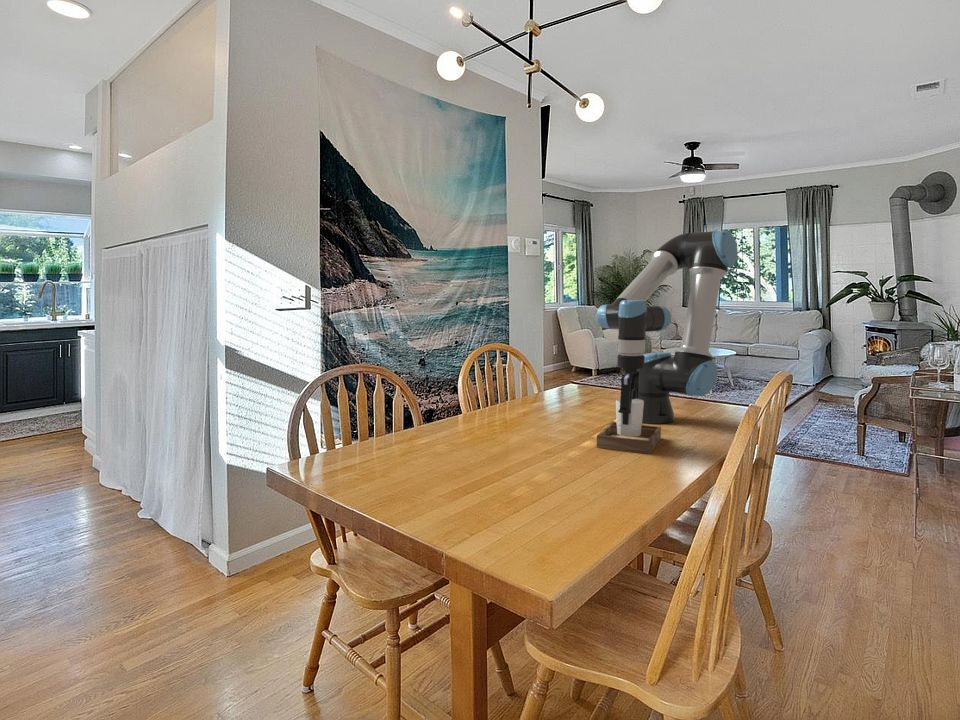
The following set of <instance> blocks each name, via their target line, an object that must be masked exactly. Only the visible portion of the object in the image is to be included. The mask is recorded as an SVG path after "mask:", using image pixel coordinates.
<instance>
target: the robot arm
mask: <svg viewBox="0 0 960 720" xmlns="http://www.w3.org/2000/svg"><path fill="white" fill-rule="evenodd" d="M650 260H651V261H650V262H649V263H647V265H646V266H645V267H644V268H643V270H641V271H640V273H639V274H638V275H637V276H636V277H635V278H634V279H633V280H632V281H631V282H630V283H629V285H627V287H626V288H625V289H624V290H623V291H622V292H621V293H620V294H619V295H618V296H617V298H616V299H615V300H614V301H613V302H612V303H611V304H609V303H607V304H602V305H600V306H599V308H598V309H597V311H596V315H595V317H596V323H597V325H598V326H599V327H600V328H603V329H609V330H618V336H617V337H618V338H617V339H618V340H617V341H616V342H615V344H616V346H617V352H618V353H619V354H617V362H616V363H617V365H616V366H617V367H618V368H619V369H624V372H623V374H622V376H621V377H620V385H621V386H620V410H618V412H619V413H621V435H626V436H631V414H632V413H630V412H631V403H632V399H641V400H643V401H644V407H643V419H642V424H643V423H644V424H660V425H661V424H668V423H672V422H674V419H675V412H674V409H673V406H672V403H671V398H670V393H673V394H674V393H675V394H680V395H687V396H690V397H693V396H695V397H704V396H706V395H707V394H709V393H710V392H711V391H712V390H713V389H714V386H715V385H716V382H717V378H718V375H719V374H718V372H719V370H718V366H717V364H716V362H714V360H713V354H712V353H711V352H710V351H709V349H710V345H711V338H712V333H713V328H714V327H713V325H714V321H715V315H716V309H717V303H718V297H719V292H720V286H721V281H722V278H724V277H725V276H726V275H727V274H728V269H729V268H732V267H734V266H735V264H736V263H737V261H738V245H737V241H736V238H735V236H734V235H733V234H732V233H731V232H730V231H727V230H716V229H715V230H710V231H698V232H685V233H681V234H679V235H677V236H674V237H672V238H670V239H669V240H668V241H667V242H665V243H664V244H662V245H661V246H660V247H659V248H658V249H656V250H655V252H653V254H652V255H651V258H650ZM681 269H688V271H689V272H690V274H691V275H692V279H691V280H692V281H691V285H690V290H689V291H690V292H689V298H688V302H687V308H686V316H685V321H684V325H683V330H682V331H683V332H682V338H681V343H680V347H679V348H678V349H676V350H675V351H674V356H673V355H672V353H671V352H669V351H668V352H667V351H665V352H663V351H662V352H650V353H646V332H661V331H664V330H665V329H667V328H669V326H670V325H671V322H672V315H671V312H670V311H669V309H668V308H667V307H665V306H663V305H647V302H646V301H648V300H649V299H650V297H651V296H652V295H653V294H654V293H655V291H656V290H658V288H659V287H660V286H661V285H662V284H663V282H664V281H665V280H666V279H667V278H668V277H669V276H672V275H674V274H676V272H678V270H681Z"/></svg>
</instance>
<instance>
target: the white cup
mask: <svg viewBox="0 0 960 720" xmlns="http://www.w3.org/2000/svg"><path fill="white" fill-rule="evenodd" d="M620 398H621V397H620ZM620 398H616V399H615V417H616V419H615V420H616V421H615V422H616V424H617V434H619V435H621V413H619V412H618V410H620ZM643 407H644V401H643V400H641V399H632V403H631V412H630V413H632V414H631V436H627V437H636V436H640V435H641V426H642V425H643V422H642V419H643ZM621 436H626V435H621Z"/></svg>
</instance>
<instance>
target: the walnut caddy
mask: <svg viewBox="0 0 960 720" xmlns="http://www.w3.org/2000/svg"><path fill="white" fill-rule="evenodd" d="M616 422H617V421H610V423H608V425H606V427H604V428H603V429H602V430H601V431H600V432H599V433H598V434H597V435H596V448H600V449H608V450H614V449H615V450H614V451H622V450H623V451H624V452H631V453H640V454H647V455H651V454H652V452H653V450H654V449H655V447H656V446H657V444H658V443H659V441H660V440H661V438H662V434H661V433H662V427H661V426H655V425H647V424H646V425H645V424H642V426H641V435H640V436H636V437H627V436H621V435H619V434H617V424H616ZM623 451H622V452H623Z"/></svg>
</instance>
